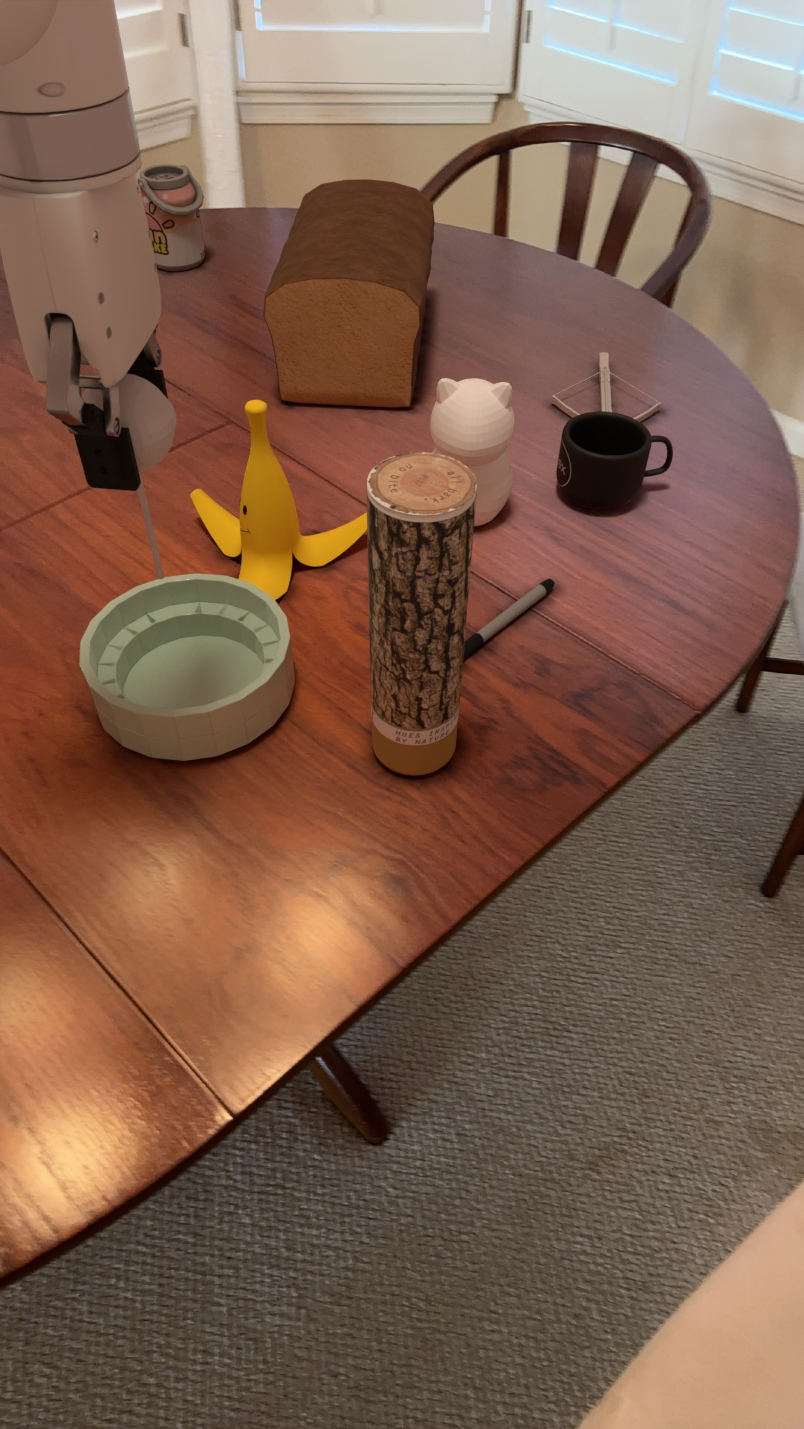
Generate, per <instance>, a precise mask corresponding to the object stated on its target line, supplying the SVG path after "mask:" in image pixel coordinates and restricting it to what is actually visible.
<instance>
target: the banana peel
mask: <svg viewBox="0 0 804 1429" xmlns="http://www.w3.org/2000/svg"><path fill="white" fill-rule="evenodd" d="M267 410H268V404H267V403H266V402H265V401H263V400H261V399H252V400H249V401H247V402H246V403H245V405H244V412H245V414H246V418H247V420H248V425H249V430H250V450H249V456H248V460H247V463H246V467H245V471H244V476H243V479H242V480H243V481H242V485H241V492H240V498H239V518H237V517H236V516H235V515H233V514H232V513H231V512H229V511H228V510H226V509H225V508H223V506H221V505H220V504H218V502H216V501H215V500H214V499H212V498H211V497H210V496H209V495H208V494H207V493H206V492H205V491H204V490H203V489H201V488H196V489H194V490H193V491H192V492H190V494H189V496H190V499H191V501H192V503H193V505H194V507H195V509H196V512H197V513H198V515H199V517H200V519H201V521H202V522H203V524H204V526H205V527H206V529H207V531H208V533H209V534H210V536H211V538H212V539H213V540H214V542H215V543H216V545H217V546H218V548H219V549H220V551H221V552H222V553H223V554H224V555H225V556H227V557H231V558H236V557H239V556H240V555H241V564H240V571H239V576H238V579H239V580H242V581H245V582H248V583H251V584H253V585H255V586H256V587H258V588H259V589H261V590H262V591H264V592H265V593H267V594H268V595H270V596H271V597H273V598H274V600H275V601H276V600H277V599H279V598H281V597H282V596H283V595H285V594H286V592H288V589H289V585H290V583H291V582H290V581H291V577H292V569H293V557H294V558H295V559H296V560H297V561H298V562H300V563H301V564H303V565H305V566H309V567H322V566H325V565H326V564H328V563H330V562H332V561H333V560H335V559H336V558H337V557H339V556H340V555H342V554H343V553H344V552H346V551H347V550H348V549H349V548H350V547H351V546H353V545H354V544H355V543H356V542H357V541H358V540H359V539H360V538H361V537H362V536H363V535H364V534H365V532H366V531H367V511H366V512H365V513H363V514H362V515H360V516H358V517H357V518H355V519H353V520H351V521H349V522H347V523H345V524H343V525H341V526H338V527H336V528H333V529H330V530H328V531H327V530H326V531H324V532H320V533H316V534H315V533H314V534H311V535H310V534H309V535H302V534H301V531H300V524H299V517H298V512H297V506H296V503H295V500H294V495H293V492H292V489H291V487H290V484H289V481H288V479H287V477H286V474H285V472H284V470H283V468H282V466H281V464H280V462H279V460H278V458H277V456H276V455H275V453H274V450H273V449H272V447H271V444H270V441H269V437H268V431H267Z"/></svg>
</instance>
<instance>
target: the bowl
mask: <svg viewBox="0 0 804 1429" xmlns="http://www.w3.org/2000/svg"><path fill="white" fill-rule="evenodd" d="M288 622H289V621H288V616H287V615H286V614H285V612H284V610H283V609H282V608H281V607H280V605H279V604H278V603H277V601H276V600H274V598H273V597H271V596H270V595H268V594H267V593H265V592H264V591H262V590H261V589H259V588H258V587H256V586H255V585H253V584H251V583H248V582H245V581H242V580H239V578H235V577H234V576H233V577H232V576H230V575H225V574H224V575H222V574H212V573H211V574H210V573H197V572H196V573H187V574H179V575H170V576H164V578H163V579H158V578H157V579H155V580H151V581H147V582H145V583H142V584H139V585H136V586H134V587H132V588H130V589H129V590H127V591H126V592H123V593H122V594H120V595H119V596H117V597H115V598H113V599H111V600H110V601H109V602H108V603H107V604H106V605H105V606H104V607H103V608H102V609H101V610H100V611H99V612H98V613H97V614H96V615H95V616H94V617H93V618H92V619H91V620H90V621H89V623H88V625H87V627H86V629H85V631H84V633H83V635H82V637H81V639H80V641H79V661H78V662H79V665H78V666H79V669H80V671H81V674H82V678H83V680H84V683H85V686H86V689H87V692H88V695H89V698H90V701H91V704H92V706H93V710H94V711H95V714H96V717H97V718H98V720H99V722H100V725H101V726H102V728H103V730H104V731H105V732H106V733H107V734H108V735H109V736H110V737H112V739H114V740H115V741H116V742H118V743H119V744H120V746H122V747H124V748H126V749H128V750H131V751H133V752H135V753H139V754H141V755H144V756H146V757H149V758H152V759H160V760H171V761H180V762H183V761H184V762H185V761H186V762H187V761H195V760H200V759H207V758H215V757H218V756H221V755H223V754H226V753H230V752H231V751H233V750H236V749H238V748H241V747H244V746H246V745H249V744H250V743H252V742H253V741H254V740H256V739H257V738H259V737H260V736H261V735H262V734H264V733H265V732H267V731H268V730H270V729H271V728H273V726H274V725H275V724H276V723H277V721H278V720H279V718H280V717H281V716H282V714H283V713H284V712H285V710H287V708H288V706H289V704H290V701H291V698H292V694H293V691H294V688H295V684H296V678H295V669H294V668H295V667H294V657H293V651H292V650H293V649H292V639H291V633H290V628H289V623H288Z"/></svg>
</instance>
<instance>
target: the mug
mask: <svg viewBox="0 0 804 1429" xmlns="http://www.w3.org/2000/svg"><path fill="white" fill-rule="evenodd" d="M579 414H580V415H577V416H575V417H573V418H572V417H571V418H570V419H569V420H568V421H567V422H566V423H565V424H564V426H563V428H562V432H561V438H560V445H559V451H558V457H557V463H556V464H557V465H556V471H555V473H556V474H555V476H556V482H557V486H558V487H559V489H560V491H561V493H562V494H563V495H564V496H565V498H567V499H568V500H569V501H570V502H572V503H574V504H577V505H578V506H581V507H584V508H588V509H595V510H613V509H618V508H620V507H622V506H625V505H627V504H628V503H630V502H631V501H632V500H633V499H634V498H635V497H637V495H638V493H639V492H640V490H641V488H642V485H643V482H644V479H645V478H648V477H655V476H660V475H662V474H664V473H666V472H667V471H668V470H669V469H670V467H671V465H672V462H673V458H674V448H673V445H672V442H671V440H670V439H669V438H668V437H666V436H663V435H659V434H658V435H655V434H653V435H651V431H650V430H649V429H648V428H647V426H645V425H644V424H643V423H642V422H641V421H640V422H639V421H637V420H635V419H633V418H634V417H631V416H629V415H625V414H623V413H618V412H613V411H612V412H604V411H601V410H599V411H588V412H585V413H579ZM652 443H663V444H664V445H665V447H666V457H665V461H664V463H663V465H661V466H660V467H657V468H652V469H647V466H648V461H649V457H650V453H651V450H652Z"/></svg>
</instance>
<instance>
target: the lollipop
mask: <svg viewBox="0 0 804 1429" xmlns="http://www.w3.org/2000/svg"><path fill="white" fill-rule="evenodd" d="M118 387H119V400H120V414H121V427H126V428H129V431H130V436H131V440H132V444H133V449H134V453H135V458H136V462H137V467H138V471H139V475H140V480H141V484H140V486H139V488H138V489H137V490H136V491H137V495H138V499H139V503H140V507H141V512H142V516H143V520H144V525H145V529H146V533H147V537H148V542H149V547H150V550H151V554H152V559H153V564H154V568H155V572H156V576H157V579H163V578H164V577H165V574H164V573H165V572H164V570H163V565H162V560H161V557H160V556H161V555H160V552H159V547H158V542H157V538H156V534H155V529H154V525H153V521H152V517H151V511H150V508H149V502H148V497H147V493H146V490H145V485H144V480H143V476H142V472H145V471H149V470H150V469H152V468H154V467H156V466H157V465H158V464H159V463H160V462H162V460H164V459H165V457H166V456H167V455H168V453H169V451H170V450H171V448H172V445H173V443H174V439H175V433H176V428H177V427H176V426H177V421H178V419H177V414H176V410H175V407H174V405H173V403H172V402H171V401H170V400H169V398H168V399H167V398H166V397H165V396H164V395H163V393H162V392H161V391H160V390H159V389H158V388H157V387H156V386H155V385H153V384H152V383H151V382H149V381H148V380H146V379H144V378H141V377H139V376H136V375H133V374H125V376H124V377H123V378H122V379H121V380H120V381H119V382H118ZM81 394H82V399H84V402H86V403H90V404H94V405H96V406H97V407H98V408H100V409H101V410H103V401H102V390H101V389H87V388H85V390H84V392H82V393H81Z"/></svg>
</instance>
